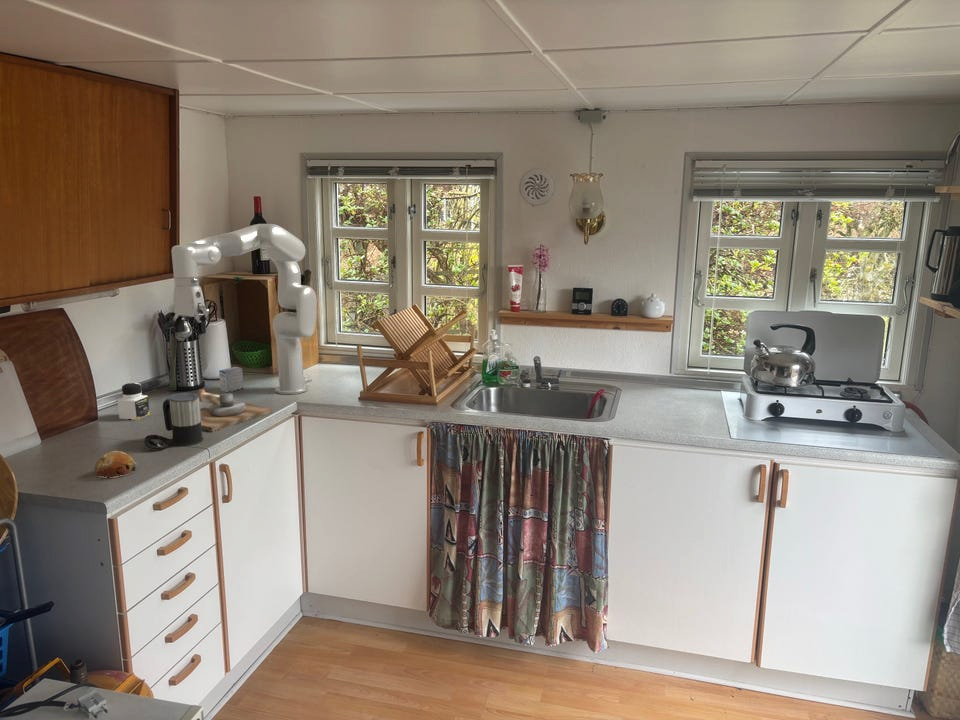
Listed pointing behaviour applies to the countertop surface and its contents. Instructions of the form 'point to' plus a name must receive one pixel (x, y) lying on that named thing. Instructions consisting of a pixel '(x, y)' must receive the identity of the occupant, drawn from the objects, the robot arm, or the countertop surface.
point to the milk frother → (180, 421)
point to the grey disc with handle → (221, 403)
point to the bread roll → (114, 464)
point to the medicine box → (231, 379)
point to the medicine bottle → (133, 402)
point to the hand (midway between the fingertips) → (190, 332)
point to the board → (230, 417)
